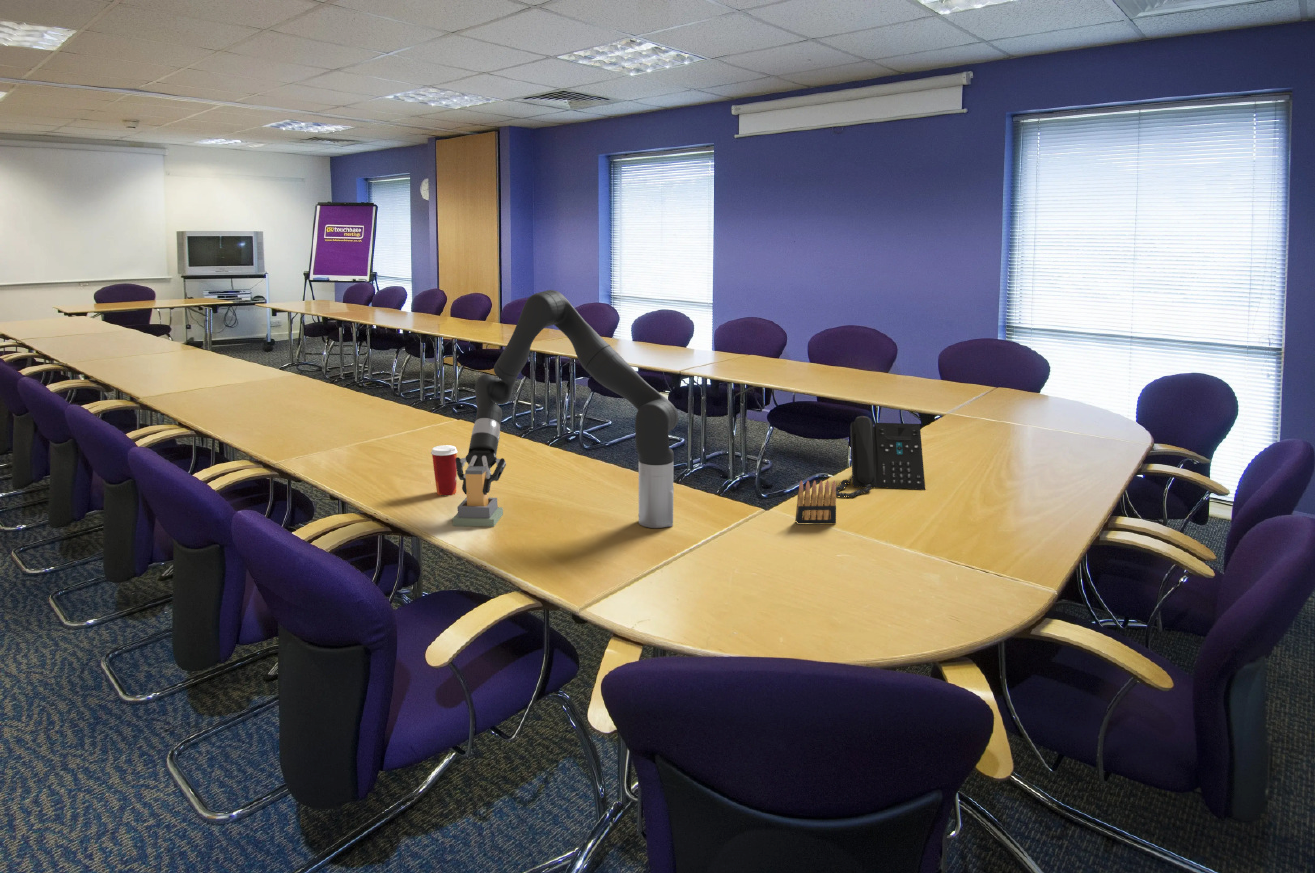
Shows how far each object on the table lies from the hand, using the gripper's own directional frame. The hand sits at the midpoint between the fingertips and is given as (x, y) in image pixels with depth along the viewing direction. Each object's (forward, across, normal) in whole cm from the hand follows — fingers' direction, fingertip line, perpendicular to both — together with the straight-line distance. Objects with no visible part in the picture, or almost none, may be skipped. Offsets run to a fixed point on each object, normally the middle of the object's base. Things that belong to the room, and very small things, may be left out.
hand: (475, 492), depth 214 cm
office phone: (-23, +114, +36) cm, 122 cm away
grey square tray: (+5, 0, +7) cm, 8 cm away
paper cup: (-12, -16, +24) cm, 31 cm away
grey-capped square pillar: (+2, 0, +5) cm, 5 cm away
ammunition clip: (+2, +91, +10) cm, 92 cm away
